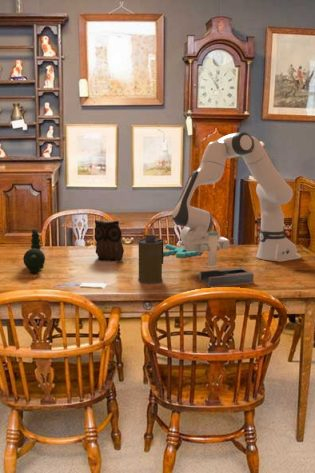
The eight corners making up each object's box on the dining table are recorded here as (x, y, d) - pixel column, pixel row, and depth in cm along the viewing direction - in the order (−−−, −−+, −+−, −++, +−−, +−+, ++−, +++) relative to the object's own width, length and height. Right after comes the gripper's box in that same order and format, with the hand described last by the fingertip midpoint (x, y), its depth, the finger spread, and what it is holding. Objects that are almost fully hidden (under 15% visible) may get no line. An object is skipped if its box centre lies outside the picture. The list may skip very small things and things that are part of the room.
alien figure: (159, 257, 260) (197, 259, 256) (159, 252, 260) (197, 254, 256) (166, 248, 280) (202, 250, 276) (166, 244, 279) (202, 246, 275)
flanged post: (215, 264, 218) (216, 230, 214) (220, 267, 212) (222, 233, 209) (203, 265, 216) (204, 231, 213) (208, 268, 211) (210, 233, 208)
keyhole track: (240, 275, 226) (240, 266, 226) (253, 283, 215) (254, 274, 214) (198, 279, 220) (199, 270, 219) (210, 287, 209) (210, 278, 208)
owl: (124, 261, 250) (124, 221, 246) (100, 263, 245) (99, 222, 241) (116, 255, 262) (116, 216, 257) (92, 257, 257) (92, 218, 253)
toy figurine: (26, 267, 245) (22, 277, 221) (25, 227, 243) (20, 233, 219) (46, 266, 247) (44, 276, 222) (45, 227, 245) (43, 233, 220)
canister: (143, 284, 212) (143, 238, 208) (134, 278, 222) (134, 233, 218) (167, 281, 217) (167, 235, 212) (157, 275, 226) (157, 231, 222)
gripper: (178, 235, 220) (190, 242, 208) (221, 233, 227) (235, 239, 214) (178, 250, 222) (190, 257, 209) (220, 247, 228) (235, 254, 215)
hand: (213, 248), depth 212 cm, fingers closed on flanged post, 3 cm apart
